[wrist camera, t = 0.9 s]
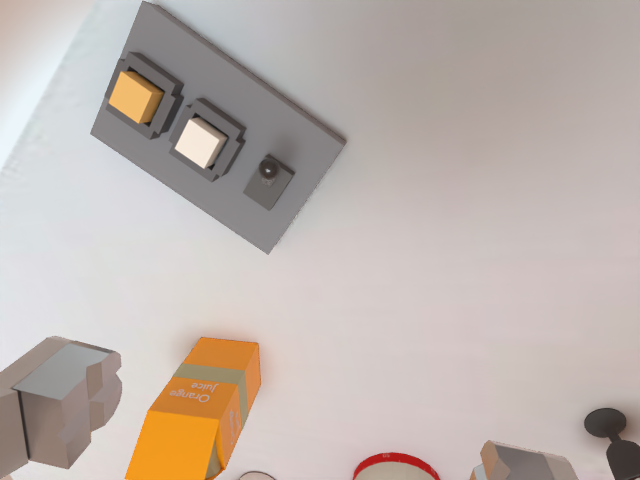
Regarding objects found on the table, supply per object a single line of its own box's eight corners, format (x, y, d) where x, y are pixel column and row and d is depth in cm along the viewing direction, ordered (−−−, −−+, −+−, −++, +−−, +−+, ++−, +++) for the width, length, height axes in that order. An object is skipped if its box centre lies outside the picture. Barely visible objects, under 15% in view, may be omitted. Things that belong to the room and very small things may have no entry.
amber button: (134, 71, 42) (120, 71, 40) (164, 92, 42) (152, 93, 40) (122, 101, 44) (108, 102, 41) (151, 121, 44) (138, 123, 42)
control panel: (158, 5, 43) (130, -4, 39) (346, 141, 46) (341, 149, 41) (106, 130, 50) (77, 135, 45) (274, 245, 52) (263, 261, 47)
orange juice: (261, 385, 61) (206, 517, 42) (206, 378, 62) (129, 504, 44) (258, 341, 58) (198, 463, 40) (200, 335, 59) (116, 451, 41)
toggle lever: (266, 168, 43) (266, 151, 37) (281, 179, 44) (284, 164, 37) (255, 183, 43) (254, 168, 37) (270, 194, 43) (272, 181, 37)
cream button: (199, 117, 43) (189, 119, 41) (227, 137, 43) (219, 140, 41) (185, 145, 44) (174, 148, 42) (212, 164, 45) (203, 168, 42)
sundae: (591, 448, 56) (657, 569, 42) (568, 414, 54) (629, 528, 40) (642, 431, 53) (730, 553, 40) (619, 395, 52) (702, 509, 38)
